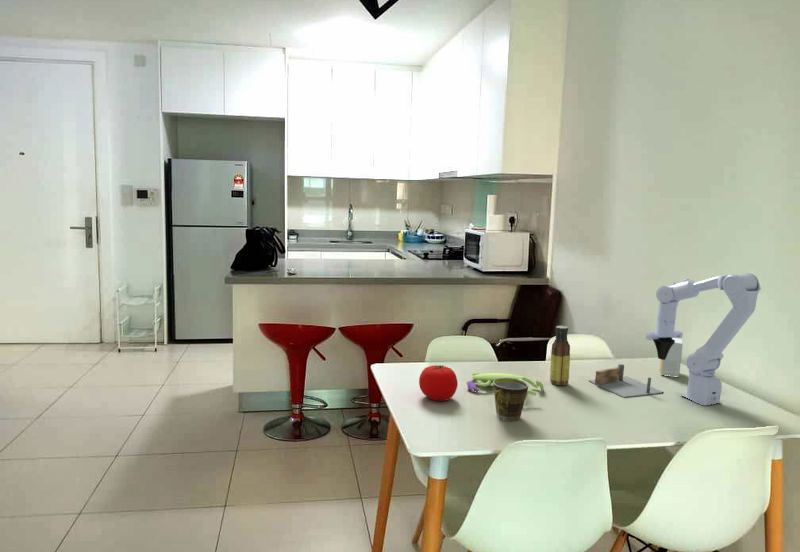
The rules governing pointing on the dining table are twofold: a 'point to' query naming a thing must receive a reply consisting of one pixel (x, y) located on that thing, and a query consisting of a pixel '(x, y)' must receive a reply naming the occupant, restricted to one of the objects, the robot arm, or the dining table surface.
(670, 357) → the small box
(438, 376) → the tomato
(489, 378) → the figurine
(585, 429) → the dining table surface
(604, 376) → the board
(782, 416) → the dining table surface
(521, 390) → the ceramic cup
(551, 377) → the sauce bottle
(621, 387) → the gate frame
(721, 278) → the robot arm
